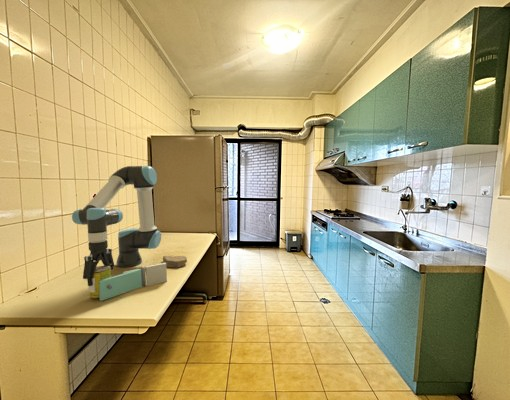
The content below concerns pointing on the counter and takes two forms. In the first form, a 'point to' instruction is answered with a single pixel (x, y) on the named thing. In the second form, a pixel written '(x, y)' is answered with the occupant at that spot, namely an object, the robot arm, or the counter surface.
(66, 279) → the counter surface
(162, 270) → the wall
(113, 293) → the door
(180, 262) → the stone
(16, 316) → the counter surface
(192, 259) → the counter surface
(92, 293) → the beverage can
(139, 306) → the counter surface
